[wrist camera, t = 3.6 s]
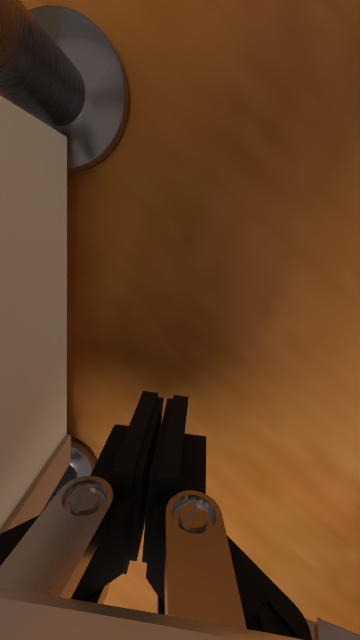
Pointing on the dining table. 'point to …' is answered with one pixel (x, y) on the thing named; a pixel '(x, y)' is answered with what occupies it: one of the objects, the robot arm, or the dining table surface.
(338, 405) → the dining table surface
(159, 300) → the dining table surface
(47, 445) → the panel
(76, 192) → the dining table surface
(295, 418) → the dining table surface
